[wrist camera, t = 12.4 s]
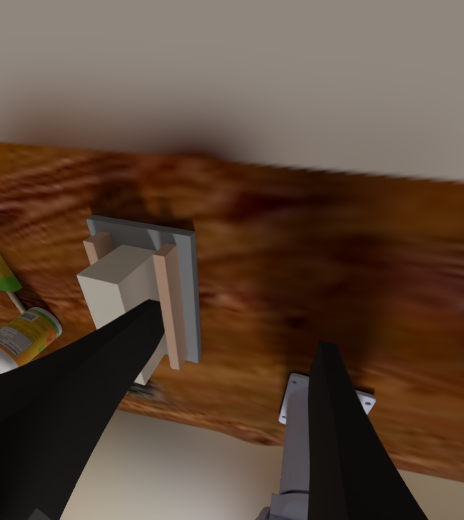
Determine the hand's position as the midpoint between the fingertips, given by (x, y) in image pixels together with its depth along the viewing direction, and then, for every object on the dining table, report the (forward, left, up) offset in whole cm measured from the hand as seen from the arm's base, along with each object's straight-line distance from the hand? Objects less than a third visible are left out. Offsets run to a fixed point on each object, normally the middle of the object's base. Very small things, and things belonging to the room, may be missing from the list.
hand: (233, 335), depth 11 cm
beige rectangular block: (-8, +11, -8) cm, 16 cm away
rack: (-8, +11, -9) cm, 17 cm away
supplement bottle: (-18, +30, -10) cm, 36 cm away
